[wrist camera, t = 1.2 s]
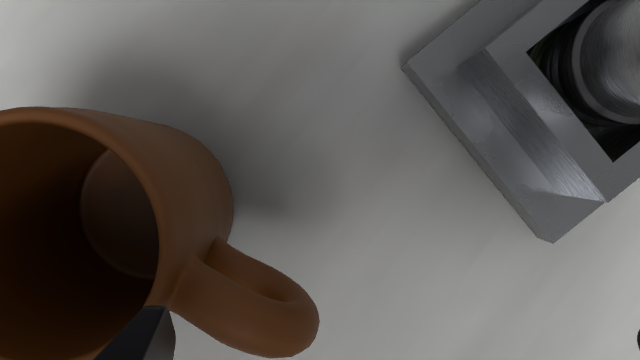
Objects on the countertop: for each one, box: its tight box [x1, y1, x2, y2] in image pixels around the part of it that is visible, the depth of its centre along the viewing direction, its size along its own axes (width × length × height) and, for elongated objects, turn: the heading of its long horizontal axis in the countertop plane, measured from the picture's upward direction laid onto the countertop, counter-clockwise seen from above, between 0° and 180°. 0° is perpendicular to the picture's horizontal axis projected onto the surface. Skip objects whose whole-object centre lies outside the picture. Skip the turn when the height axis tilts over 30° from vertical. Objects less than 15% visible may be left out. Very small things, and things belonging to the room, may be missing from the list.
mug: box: [0, 107, 320, 360], centre depth 18 cm, size 12×8×9 cm, turn 66°
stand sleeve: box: [401, 0, 640, 243], centre depth 19 cm, size 10×10×6 cm
